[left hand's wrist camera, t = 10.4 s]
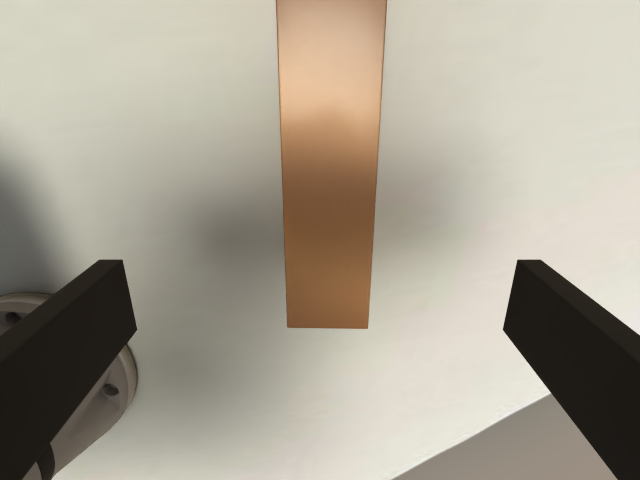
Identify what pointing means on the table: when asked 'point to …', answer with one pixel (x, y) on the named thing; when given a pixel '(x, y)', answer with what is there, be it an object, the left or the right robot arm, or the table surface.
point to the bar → (329, 155)
